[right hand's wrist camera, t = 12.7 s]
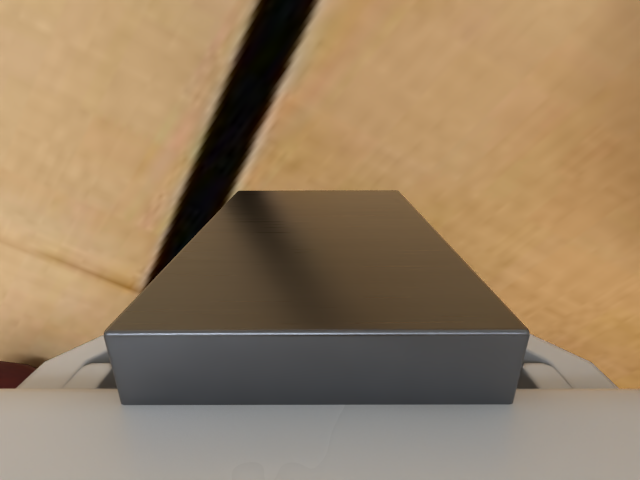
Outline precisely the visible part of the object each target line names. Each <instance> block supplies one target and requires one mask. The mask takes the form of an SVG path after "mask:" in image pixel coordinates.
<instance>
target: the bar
mask: <svg viewBox="0 0 640 480" xmlns="http://www.w3.org/2000/svg"><path fill="white" fill-rule="evenodd" d="M529 336H530V334H529V330H528V329H527V328H526V326H525V325H524V324H523V323H522V322H521V321H520V320H519V319H518V318H517V317H516V316H515V315H514V314H513V313H512V312H511V310H510V309H509V308H508V307H507V306H506V305H505V304H504V303H503V302H502V301H501V300H500V299H499V298H498V297H497V296H496V294H495V293H494V292H493V291H492V290H491V289H490V288H489V287H488V286H487V285H486V284H485V283H484V282H483V281H482V280H481V278H480V277H479V276H478V275H477V274H476V273H475V272H474V271H473V270H472V269H471V268H470V267H469V266H468V265H467V264H466V262H465V261H464V260H463V259H462V258H461V257H460V256H459V255H458V254H457V253H456V252H455V251H454V250H453V249H452V248H451V246H450V245H449V244H448V243H447V242H446V241H445V240H444V239H443V238H442V237H441V236H440V235H439V234H438V233H437V232H436V230H435V229H434V228H433V227H432V226H431V225H430V224H429V223H428V222H427V221H426V220H425V219H424V218H423V217H422V216H421V214H420V213H419V212H418V211H417V210H416V209H415V208H414V207H413V206H412V205H411V204H410V203H409V202H408V201H407V200H406V198H405V197H404V196H403V195H402V194H401V193H400V192H399V191H238V192H237V193H236V194H235V195H234V196H233V197H232V198H231V199H230V200H229V201H228V202H227V203H226V204H225V205H224V206H223V207H222V208H221V209H220V210H219V212H218V213H217V214H216V215H215V216H214V217H213V218H212V219H211V220H210V221H209V222H208V223H207V224H206V225H205V226H204V227H203V228H202V229H201V230H200V231H199V232H198V234H197V235H196V236H195V237H194V238H193V239H192V240H191V241H190V242H189V243H188V244H187V245H186V246H185V247H184V248H183V249H182V250H181V251H180V252H179V253H178V255H177V256H176V257H175V258H174V259H173V260H172V261H171V262H170V263H169V264H168V265H167V266H166V267H165V268H164V269H163V270H162V271H161V272H160V273H159V274H158V275H157V277H156V278H155V279H154V280H153V281H152V282H151V283H150V284H149V285H148V286H147V287H146V288H145V289H144V290H143V291H142V292H141V293H140V294H139V295H138V296H137V298H136V299H135V300H134V301H133V302H132V303H131V304H130V305H129V306H128V307H127V308H126V309H125V310H124V311H123V312H122V313H121V314H120V315H119V316H118V317H117V318H116V320H115V321H114V322H113V323H112V324H111V325H110V326H109V327H108V328H107V329H106V330H105V332H104V340H105V344H106V348H107V352H108V355H109V359H110V363H111V367H112V371H113V375H114V378H115V382H116V386H117V390H118V394H119V398H120V402H121V404H122V405H484V404H513V401H514V397H515V393H516V389H517V385H518V381H519V377H520V373H521V368H522V364H523V360H524V356H525V352H526V348H527V344H528V340H529Z"/></svg>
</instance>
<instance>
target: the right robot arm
mask: <svg viewBox="0 0 640 480" xmlns="http://www.w3.org/2000/svg"><path fill="white" fill-rule="evenodd" d="M0 480H640V389H619V388H618V387H617V386H616V385H615V384H614V383H613V382H612V381H611V380H610V379H608V378H607V377H606V376H605V375H604V374H603V373H602V372H601V371H600V370H599V369H598V368H597V367H596V366H595V365H594V364H593V363H592V362H590V361H588V360H585V359H583V358H581V357H579V356H577V355H575V354H572V353H570V352H568V351H566V350H564V349H562V348H559V347H557V346H555V345H553V344H551V343H549V342H546V341H544V340H542V339H540V338H538V337H536V336H534V335H531V334H530V336H529V340H528V344H527V348H526V352H525V356H524V360H523V364H522V368H521V373H520V377H519V381H518V385H517V389H516V393H515V397H514V401H513V404H484V405H122V404H121V402H120V398H119V394H118V390H117V386H116V382H115V378H114V375H113V371H112V367H111V363H110V359H109V355H108V352H107V348H106V344H105V340H104V335H102V336H100V337H98V338H95V339H93V340H91V341H89V342H87V343H85V344H82V345H80V346H78V347H76V348H74V349H71V350H69V351H67V352H65V353H63V354H60V355H58V356H56V357H54V358H52V359H49V360H47V361H45V362H44V363H43V364H42V365H41V366H39V367H38V368H37V369H36V370H35V371H34V372H33V373H32V374H31V375H30V376H29V377H28V378H26V379H25V380H24V381H23V382H22V383H21V384H20V385H19V386H18V387H17V388H16V389H0Z"/></svg>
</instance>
